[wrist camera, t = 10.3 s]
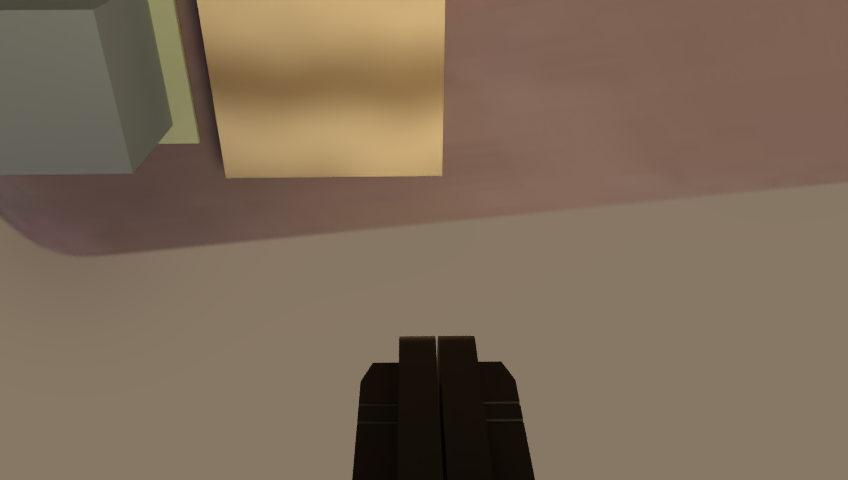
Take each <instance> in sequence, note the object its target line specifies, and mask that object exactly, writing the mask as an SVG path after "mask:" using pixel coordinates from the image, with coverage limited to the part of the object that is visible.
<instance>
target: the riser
mask: <svg viewBox="0 0 848 480" xmlns="http://www.w3.org/2000/svg"><path fill="white" fill-rule="evenodd" d="M197 5H198V11H199V17H200V23H201V30H202V36H203V42H204V48H205V54H206V60H207V66H208V72H209V78H210V84H211V90H212V97H213V103H214V109H215V115H216V121H217V127H218V133H219V139H220V145H221V151H222V157H223V163H224V170H225V176H226V178H279V177H375V176H442V149H443V91H444V34H445V0H197Z"/></svg>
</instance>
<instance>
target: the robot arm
mask: <svg viewBox="0 0 848 480" xmlns="http://www.w3.org/2000/svg"><path fill="white" fill-rule="evenodd" d="M357 421H358V422H357V423H358V424H357V431H356V443H355V455H354V467H353V479H352V480H535V478H534V473H533V468H532V463H531V457H530V452H529V447H528V443H527V437H526V432H525V427H524V423H523V417H522V412H521V406H520V405H519V396H518V391H517V386H516V381H515V379H514V378H513V376H512V375H511V374H510V372H509V371H508V370H507V369H506V367H505V366H504V365H503V363H502V362H478V359H477V351H476V344H475V338H474V336H438V349H437V357H436V339H435V336H421V337H420V336H418V337H415V336H414V337H413V336H409V337H400V339H399V363H373V364H372V365H371V367H370V368H369V370H368V371H367V373H366V374H365V376H364V378H363V379H362V381H361V385H360V396H359V408H358V420H357Z"/></svg>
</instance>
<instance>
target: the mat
mask: <svg viewBox="0 0 848 480" xmlns="http://www.w3.org/2000/svg"><path fill="white" fill-rule="evenodd" d="M148 3H149V8H150V13H151V18H152V23H153V28H154V33H155V38H156V43H157V48H158V53H159V58H160V63H161V68H162V73H163V77H164V82H165V87H166V92H167V97H168V102H169V107H170V112H171V117H172V122H173V126H172V127H171V128H170V129H169V131H168V132H167V133H166V134H165V135H164V137H163V138H162V139H161V140H160V142H159V143H158V144H188V143H200V141H201V140H200V135H199V129H198V124H197V118H196V113H195V107H194V101H193V96H192V90H191V85H190V79H189V74H188V68H187V63H186V57H185V51H184V46H183V40H182V35H181V29H180V24H179V18H178V13H177V7H176V1H175V0H148Z"/></svg>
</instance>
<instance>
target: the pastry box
mask: <svg viewBox="0 0 848 480" xmlns="http://www.w3.org/2000/svg"><path fill="white" fill-rule="evenodd" d="M172 126H173V122H172V117H171V112H170V107H169V102H168V97H167V92H166V87H165V82H164V77H163V73H162V68H161V63H160V58H159V53H158V48H157V43H156V38H155V33H154V28H153V23H152V18H151V13H150V8H149V3H148V0H0V175H68V174H133V173H134V172H135V171H136V169H137V168H138V167H139V166H140V165H141V163H142V162H143V161H144V160H145V159H146V157H147V156H148V155H149V154H150V152H151V151H152V150H153V149H154V148H155V146H156V145H157V144H158V143H159V142H160V140H161V139H162V138H163V137H164V135H165V134H166V133H167V132H168V131H169V129H170V128H171V127H172Z"/></svg>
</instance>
